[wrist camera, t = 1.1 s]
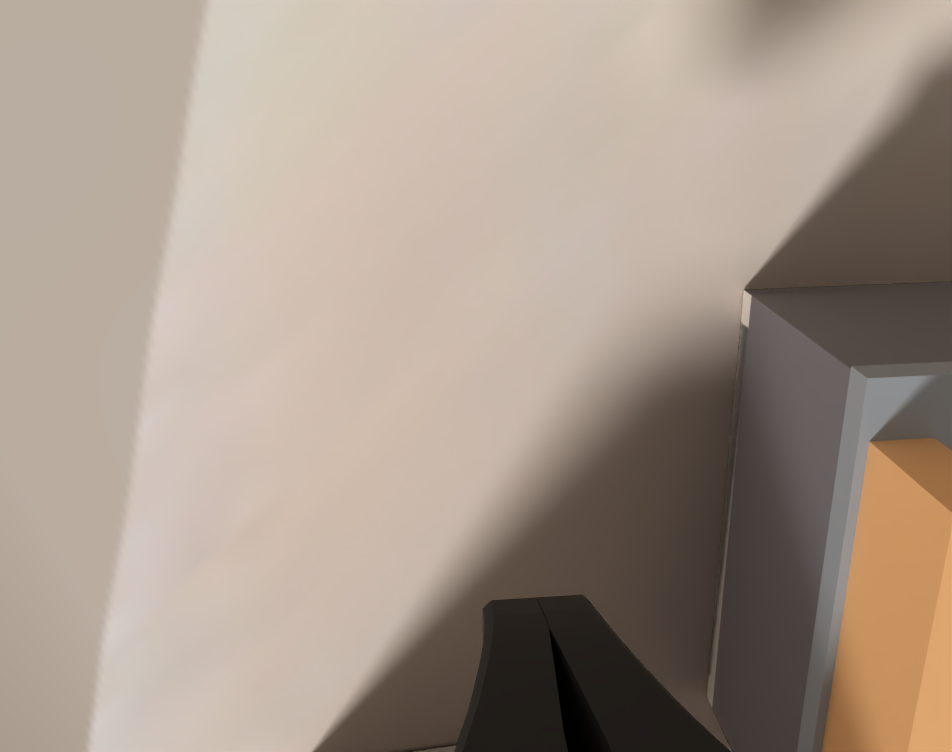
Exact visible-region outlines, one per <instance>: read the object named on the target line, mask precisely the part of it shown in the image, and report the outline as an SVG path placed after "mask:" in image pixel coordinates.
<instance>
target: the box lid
mask: <svg viewBox="0 0 952 752" xmlns="http://www.w3.org/2000/svg"><path fill="white" fill-rule="evenodd" d="M797 752H952V362H932V363H910V364H889V365H867V366H851V371H850V378H849V385H848V392H847V399H846V407H845V414H844V421H843V428H842V435H841V442H840V449H839V456H838V464H837V471H836V478H835V485H834V492H833V499H832V506H831V513H830V520H829V528H828V535H827V542H826V549H825V556H824V563H823V570H822V577H821V585H820V592H819V599H818V606H817V613H816V620H815V627H814V634H813V642H812V649H811V656H810V663H809V670H808V677H807V684H806V691H805V698H804V706H803V713H802V720H801V727H800V734H799V741H798V748H797Z"/></svg>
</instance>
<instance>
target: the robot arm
mask: <svg viewBox="0 0 952 752" xmlns="http://www.w3.org/2000/svg"><path fill="white" fill-rule="evenodd" d="M454 752H731V751H730V750H729V749H727V748H726V747H725V746H724V745H723V744H722V743H721V742H720V741H718V740H717V739H716V738H715V737H714V736H713V735H712V734H711V733H710V732H709V731H708V730H707V729H706V728H705V727H703V726H702V725H701V724H700V723H699V722H698V721H697V720H696V719H695V718H694V717H693V716H692V715H691V714H690V713H689V712H688V711H687V710H686V709H685V708H684V707H683V706H682V705H681V704H680V703H679V702H678V701H677V700H676V699H675V698H674V697H673V696H672V695H671V694H670V693H669V692H668V691H667V690H666V689H665V688H664V687H663V686H662V685H661V684H660V683H659V682H658V680H657V679H656V678H655V677H654V676H653V675H652V674H651V673H650V672H649V671H648V670H647V669H646V668H645V667H644V666H643V664H642V663H641V662H640V661H639V660H638V659H637V658H636V657H635V656H634V654H633V653H632V652H631V651H630V650H629V649H628V647H627V646H626V645H625V644H624V643H623V642H622V640H621V639H620V638H619V637H618V636H617V635H616V633H615V632H614V631H613V630H612V629H611V627H610V626H609V625H608V624H607V622H606V621H605V620H604V619H603V618H602V616H601V615H600V614H599V613H598V611H597V610H596V609H595V608H594V606H593V605H592V604H591V602H590V601H589V600H587V599H586V598H585V597H584V596H583V595H571V596H555V597H539V598H524V599H508V600H492V601H490V602H489V603H488V604H487V605H486V606H485V607H484V608H483V648H482V654H481V660H480V666H479V670H478V674H477V678H476V682H475V686H474V690H473V694H472V698H471V702H470V706H469V709H468V713H467V716H466V719H465V722H464V724H463V727H462V730H461V733H460V736H459V739H458V742H457V745H456V748H455V751H454Z"/></svg>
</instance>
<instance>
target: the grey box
mask: <svg viewBox="0 0 952 752" xmlns="http://www.w3.org/2000/svg"><path fill="white" fill-rule="evenodd" d="M932 362H952V282H928V283H903V284H878V285H852V286H827V287H802V288H777V289H751V290H744V293H743V304H742V315H741V326H740V337H739V348H738V358H737V369H736V380H735V391H734V402H733V413H732V424H731V434H730V445H729V456H728V467H727V478H726V489H725V500H724V510H723V521H722V532H721V543H720V554H719V565H718V576H717V586H716V597H715V608H714V619H713V630H712V641H711V652H710V662H709V673H708V684H707V695H706V696H707V698H708V700H709V703H710V705H711V707H712V709H713V711H714V713H715V715H716V718H717V720H718V722H719V724H720V726H721V728H722V730H723V733H724V735H725V737H726V739H727V741H728V743H729V745H730V748H731V750H732V752H797V748H798V741H799V734H800V727H801V720H802V713H803V706H804V698H805V691H806V684H807V677H808V670H809V663H810V656H811V649H812V642H813V634H814V627H815V620H816V613H817V606H818V599H819V592H820V585H821V577H822V570H823V563H824V556H825V549H826V542H827V535H828V528H829V520H830V513H831V506H832V499H833V492H834V485H835V478H836V471H837V464H838V456H839V449H840V442H841V435H842V428H843V421H844V414H845V407H846V399H847V392H848V385H849V378H850V371H851V366H867V365H889V364H910V363H932Z"/></svg>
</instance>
